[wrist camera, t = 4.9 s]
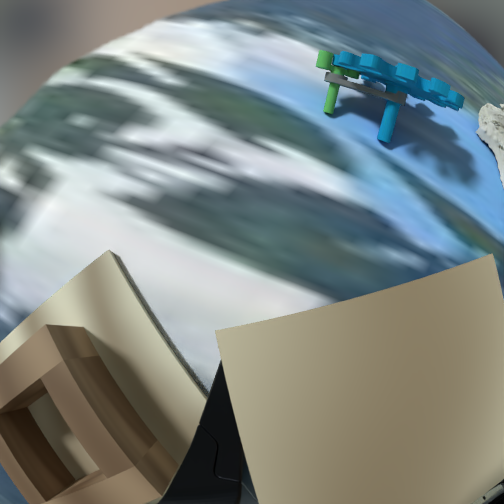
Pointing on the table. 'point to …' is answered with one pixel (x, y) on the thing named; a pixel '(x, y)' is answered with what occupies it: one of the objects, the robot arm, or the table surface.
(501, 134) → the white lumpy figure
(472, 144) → the table surface
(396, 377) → the peg
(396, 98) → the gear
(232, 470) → the robot arm
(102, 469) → the socket
